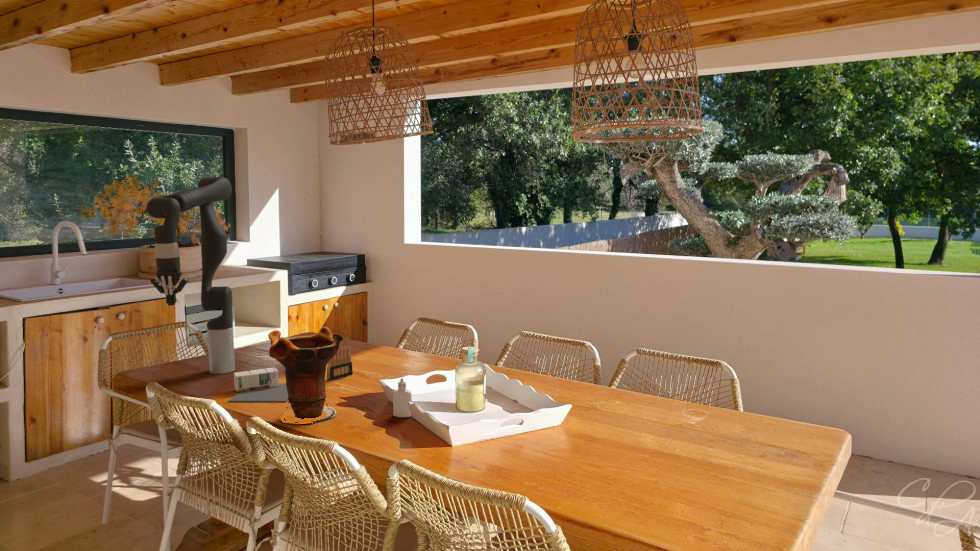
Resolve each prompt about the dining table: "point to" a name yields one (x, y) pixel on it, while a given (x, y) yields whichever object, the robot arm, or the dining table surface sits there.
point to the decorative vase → (306, 369)
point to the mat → (263, 395)
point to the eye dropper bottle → (401, 400)
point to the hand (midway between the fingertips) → (171, 305)
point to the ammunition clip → (340, 364)
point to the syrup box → (256, 379)
